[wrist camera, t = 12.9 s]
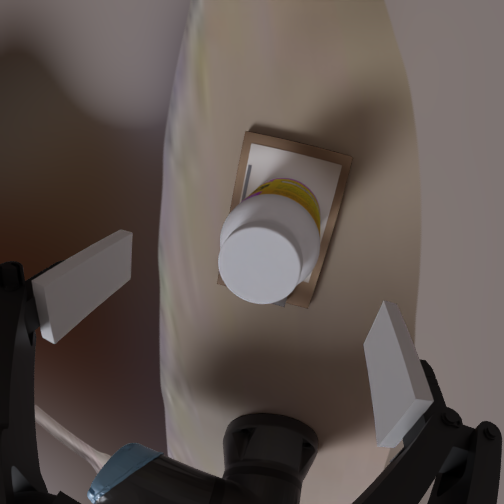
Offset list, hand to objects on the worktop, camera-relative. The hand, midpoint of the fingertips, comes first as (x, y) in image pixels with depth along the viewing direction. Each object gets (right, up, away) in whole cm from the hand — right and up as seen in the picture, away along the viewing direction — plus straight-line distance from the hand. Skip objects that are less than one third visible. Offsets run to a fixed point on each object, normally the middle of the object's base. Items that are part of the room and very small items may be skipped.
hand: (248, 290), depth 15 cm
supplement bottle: (+3, +6, +14) cm, 15 cm away
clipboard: (+3, +5, +15) cm, 16 cm away
